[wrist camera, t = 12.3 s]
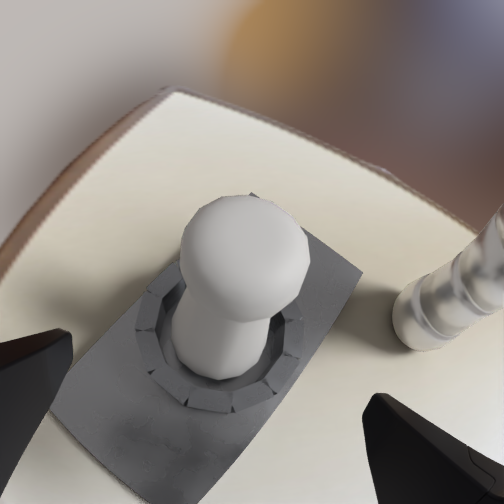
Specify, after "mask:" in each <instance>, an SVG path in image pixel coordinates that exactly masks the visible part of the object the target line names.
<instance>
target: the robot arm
mask: <svg viewBox="0 0 504 504" xmlns="http://www.w3.org/2000/svg"><path fill="white" fill-rule="evenodd" d="M72 360H73V346H72V335H71V333H70V332H69V331H66V330H63V329H60V328H57V329H53V330H49V331H45V332H42V333H38V334H34V335H30V336H26V337H22V338H18V339H14V340H10V341H6V342H2V343H0V497H1V495H2V493H3V491H4V489H5V487H6V485H7V483H8V481H9V479H10V477H11V475H12V473H13V471H14V469H15V467H16V466H17V464H18V462H19V460H20V458H21V456H22V454H23V453H24V451H25V449H26V447H27V445H28V444H29V442H30V440H31V438H32V437H33V435H34V433H35V431H36V430H37V428H38V426H39V424H40V423H41V421H42V419H43V418H44V416H45V414H46V413H47V411H48V409H49V408H50V406H51V404H52V403H53V401H54V399H55V397H56V395H57V393H58V390H59V388H60V386H61V384H62V382H63V380H64V378H65V376H66V374H67V371H68V369H69V367H70V365H71V363H72ZM362 423H363V429H364V436H365V443H366V451H367V457H368V462H369V466H370V470H371V475H372V479H373V483H374V487H375V491H376V496H377V500H378V504H504V466H503V465H501V464H499V463H497V462H495V461H493V460H492V459H490V458H488V457H486V456H484V455H482V454H481V453H479V452H477V451H476V450H474V449H472V448H471V447H469V446H467V445H466V444H464V443H463V442H461V441H459V440H458V439H456V438H455V437H453V436H451V435H450V434H448V433H447V432H445V431H444V430H442V429H440V428H439V427H437V426H436V425H434V424H433V423H431V422H429V421H428V420H426V419H425V418H423V417H422V416H420V415H419V414H417V413H416V412H414V411H413V410H411V409H410V408H408V407H407V406H405V405H404V404H402V403H401V402H399V401H398V400H396V399H395V398H393V397H392V396H390V395H389V394H386V393H375V394H374V395H373V396H372V397H371V399H370V401H369V403H368V405H367V407H366V408H365V410H364V412H363V415H362Z"/></svg>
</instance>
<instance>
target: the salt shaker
mask: <svg viewBox="0 0 504 504" xmlns="http://www.w3.org/2000/svg"><path fill="white" fill-rule="evenodd" d="M309 264H310V255H309V247H308V239H307V236H306V235H305V233H304V232H303V230H302V229H301V227H300V226H299V224H298V223H297V221H296V220H295V218H294V217H293V216H292V215H290V214H289V213H288V212H286V211H285V210H283V209H282V208H281V207H279V206H278V205H276V204H275V203H274V202H272V201H268V200H265V199H261V198H257V197H253V196H249V195H238V196H225V197H220V198H218V199H216V200H214V201H212V202H211V203H209V204H207V205H205V206H203V207H201V208H199V210H198V211H197V212H196V214H195V215H194V216H193V218H192V219H191V220H190V222H189V223H188V225H187V226H186V227H185V229H184V233H183V236H182V240H181V252H180V269H181V273H182V276H183V278H184V281H185V283H186V285H187V287H186V289H185V291H184V293H183V296H182V298H181V300H180V302H179V304H178V306H177V308H176V311H175V313H174V315H173V317H172V321H171V342H172V344H173V346H174V349H175V351H176V354H177V356H178V358H179V360H180V361H181V362H182V363H183V364H185V365H186V366H187V367H188V368H190V369H191V370H192V371H193V372H195V373H196V374H198V375H201V376H205V377H209V378H212V379H216V380H222V379H227V378H231V377H236V376H240V375H242V374H243V373H245V372H246V371H247V370H248V369H250V368H251V367H252V366H254V365H255V364H256V363H257V362H258V360H259V358H260V356H261V354H262V351H263V349H264V347H265V345H266V341H267V335H268V329H269V323H270V318H271V317H272V316H274V315H275V314H276V313H278V312H279V311H280V310H281V309H283V308H284V307H285V306H287V305H288V304H289V303H290V302H292V301H293V300H294V299H295V298H296V297H297V296H298V294H299V291H300V289H301V286H302V283H303V281H304V278H305V276H306V273H307V270H308V267H309Z"/></svg>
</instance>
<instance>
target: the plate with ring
mask: <svg viewBox="0 0 504 504" xmlns="http://www.w3.org/2000/svg"><path fill="white" fill-rule="evenodd" d="M249 196H253V197H257V198H259V197H258V196H256V195H255V194H253V193H252V192H251V193H250V194H249ZM300 227H301V226H300ZM301 229H302V230H303V232H304V233H305V235H306V236H307V239H308V247H309V255H310V264H309V267H308V270H307V273H306V276H305V278H304V281H303V283H302V286H301V289H300V291H299V294H298V296H297V297H296V298H295V299H294V300H293V301H292V302H290V303H289V304H288V305H287V306H285V307H284V308H283V309H281V310H280V311H279V312H278V313H276V314H275V315H274V316H272V317H271V318H270V323H269V329H268V335H267V341H266V345H265V347H264V349H263V351H262V354H261V356H260V358H259V360H258V362H257V363H256V364H255V365H254V366H252V367H251V368H250V369H248V370H247V371H246V372H245V373H243V374H242V375H240V376H236V377H231V378H227V379H222V380H216V379H212V378H209V377H205V376H201V375H198V374H196V373H195V372H193V371H192V370H191V369H190V368H188V367H187V366H186V365H185V364H183V363H182V362H181V361H180V360H179V358H178V356H177V354H176V351H175V349H174V346H173V344H172V342H171V321H172V317H173V315H174V313H175V311H176V308H177V306H178V304H179V302H180V300H181V298H182V296H183V293H184V291H185V289H186V287H187V285H186V283H185V281H184V278H183V276H182V273H181V269H180V259H179V260H176V263H175V264H174V263H173V262H172V263H171V264H170V265H169V266H168V267H167V268H166V269H165V270H164V271H163V272H162V273H161V274H160V275H159V276H158V277H157V278H156V279H155V280H154V281H153V282H152V283H151V284H150V285H149V286H148V287H147V288H146V289H147V291H146V292H144V293H143V295H142V296H141V297H140V298H139V299H138V300H137V301H136V302H135V303H134V304H133V305H132V306H131V307H130V308H129V309H128V310H127V311H126V312H125V313H124V314H123V315H122V316H121V317H120V318H119V319H118V320H117V321H116V322H115V323H114V324H113V325H112V326H111V327H110V328H109V329H108V330H107V332H106V333H105V334H104V335H103V336H102V337H101V338H100V339H99V340H98V341H97V342H96V343H95V344H94V345H93V346H92V347H91V348H90V349H89V350H88V351H87V352H86V353H85V355H84V356H83V357H82V358H81V359H80V360H79V361H78V362H77V363H76V364H75V365H74V366H73V367H72V368H71V369H70V371H69V372H68V373H67V374H66V376H65V378H64V380H63V382H62V384H61V386H60V388H59V390H58V393H57V395H56V397H55V399H54V401H53V403H52V404H51V406H50V408H49V409H50V410H51V411H52V412H53V414H54V415H55V416H56V417H57V418H58V419H59V420H60V422H61V423H62V424H63V425H64V426H65V427H66V428H67V429H68V430H69V431H70V432H71V433H72V435H73V436H74V437H75V438H76V439H77V440H78V441H79V442H80V443H81V444H82V445H83V446H84V447H85V448H86V449H87V450H88V451H89V452H90V453H91V454H92V455H93V456H94V457H96V458H97V459H98V460H99V461H100V462H101V463H102V464H103V465H104V466H105V467H106V468H108V469H109V470H110V471H111V472H112V473H113V474H114V475H116V476H117V477H118V478H119V479H120V480H121V481H123V482H124V483H125V484H126V485H128V486H129V487H130V488H131V489H133V490H134V491H135V492H136V493H138V494H139V495H140V496H142V497H143V498H144V499H145V500H147V501H148V502H150V503H151V504H197V503H198V502H199V501H200V500H201V499H202V498H203V497H204V496H205V495H206V494H207V492H208V491H209V490H210V489H211V488H212V487H213V486H214V485H215V484H216V482H217V481H218V480H219V479H220V478H221V477H222V476H223V474H224V473H225V472H226V471H227V470H228V469H229V467H230V466H231V465H232V464H233V463H234V462H235V460H236V459H237V458H238V457H239V455H240V454H241V453H242V452H243V451H244V449H245V448H246V447H247V446H248V444H249V443H250V442H251V441H252V439H253V438H254V437H255V436H256V434H257V433H258V432H259V430H260V429H261V428H262V427H263V425H264V424H265V423H266V421H267V420H268V419H269V417H270V416H271V415H272V413H273V412H274V411H275V409H276V408H277V407H278V405H279V404H280V403H281V401H282V400H283V398H284V397H285V396H286V394H287V393H288V391H289V390H290V389H291V387H292V386H293V384H294V383H295V381H296V380H297V379H298V377H299V376H300V374H301V373H302V371H303V370H304V368H305V367H306V365H307V364H308V362H309V361H310V359H311V358H312V356H313V355H314V353H315V352H316V350H317V349H318V347H319V346H320V344H321V342H322V341H323V339H324V338H325V336H326V335H327V333H328V331H329V330H330V328H331V327H332V325H333V323H334V322H335V320H336V318H337V317H338V315H339V314H340V312H341V310H342V309H343V307H344V305H345V303H346V302H347V300H348V298H349V297H350V295H351V293H352V291H353V290H354V288H355V286H356V284H357V283H358V281H359V279H360V277H361V276H362V274H363V272H362V271H361V270H359V269H358V268H357V267H355V266H354V265H353V264H351V263H350V262H349V261H347V260H346V259H345V258H343V257H342V256H340V255H339V254H338V253H336V252H335V251H334V250H332V249H331V248H330V247H328V246H327V245H326V244H324V243H323V242H321V241H320V240H319V239H317V238H316V237H315V236H313V235H312V234H310V233H309V232H308V231H306V230H305V229H303V228H302V227H301Z"/></svg>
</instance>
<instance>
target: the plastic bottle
mask: <svg viewBox="0 0 504 504" xmlns="http://www.w3.org/2000/svg"><path fill="white" fill-rule="evenodd" d="M503 308H504V204H503V205H502V206H501V207H500V208H499V210H498V211H497V212H496V213H495V215H494V216H493V217H492V219H491V220H490V221H489V222H488V224H487V225H486V226H485V228H484V229H483V230H482V231H481V232H480V234H479V235H478V236H477V237H476V238H475V239H474V240H473V241H472V242H471V243H470V244H469V245H468V246H467V247H466V248H465V249H464V250H463V251H462V252H460V253H459V254H458V255H457V256H456V257H455V258H454V259H453V260H451V261H450V262H448V263H447V264H445V265H444V266H442V267H440V268H439V269H437V270H436V271H434V272H433V273H431V274H428V275H425V276H423V277H421V278H419V279H417V280H415V281H413V282H412V283H410V284H408V285H407V286H406V287H405V288H404V290H403V291H402V292H401V293H400V294H399V295H398V297H397V299H396V300H395V303H394V306H393V313H392V322H393V327H394V330H395V332H396V334H397V336H398V338H399V339H400V340H401V341H402V342H403V343H404V344H405V345H407V346H408V347H410V348H412V349H413V350H416V351H422V352H425V351H430V350H435V349H439V348H441V347H443V346H445V345H446V344H448V343H449V342H451V341H452V340H454V339H455V338H456V337H457V336H458V335H459V334H460V333H462V332H463V331H465V330H466V329H468V328H469V327H471V326H473V325H474V324H476V323H477V322H479V321H480V320H482V319H483V318H484V317H487V316H489V315H491V314H493V313H494V312H496V311H499V310H501V309H503Z"/></svg>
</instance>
